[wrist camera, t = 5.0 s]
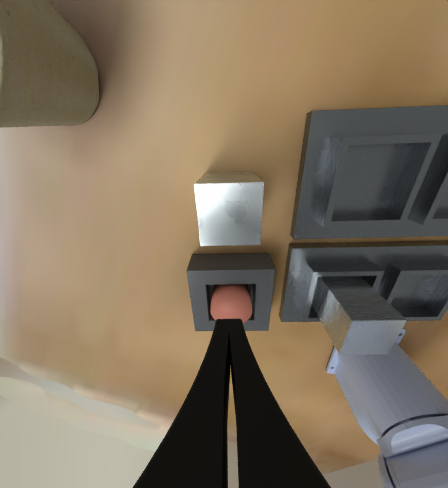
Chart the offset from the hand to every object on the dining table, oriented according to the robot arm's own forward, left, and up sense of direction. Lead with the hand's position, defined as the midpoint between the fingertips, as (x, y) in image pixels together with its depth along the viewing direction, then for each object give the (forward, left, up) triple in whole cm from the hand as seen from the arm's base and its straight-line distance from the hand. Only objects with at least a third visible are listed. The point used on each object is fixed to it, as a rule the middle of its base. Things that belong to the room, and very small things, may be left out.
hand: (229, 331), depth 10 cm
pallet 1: (+6, -15, -10) cm, 19 cm away
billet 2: (-5, -11, -9) cm, 15 cm away
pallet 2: (-5, -15, -10) cm, 19 cm away
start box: (-5, 0, -10) cm, 11 cm away
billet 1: (+5, 0, -10) cm, 11 cm away
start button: (-5, 0, -9) cm, 10 cm away
